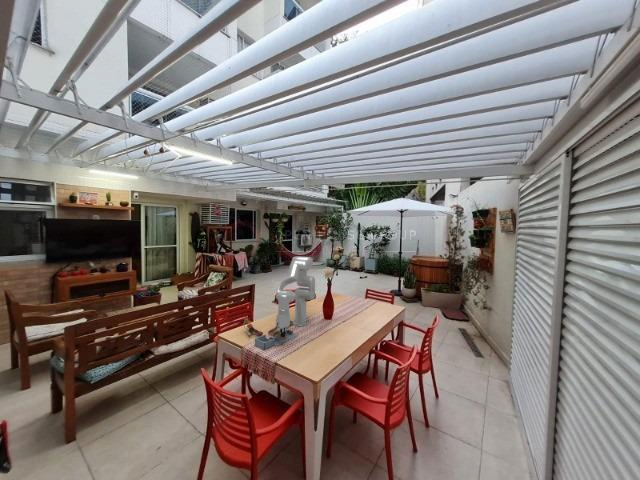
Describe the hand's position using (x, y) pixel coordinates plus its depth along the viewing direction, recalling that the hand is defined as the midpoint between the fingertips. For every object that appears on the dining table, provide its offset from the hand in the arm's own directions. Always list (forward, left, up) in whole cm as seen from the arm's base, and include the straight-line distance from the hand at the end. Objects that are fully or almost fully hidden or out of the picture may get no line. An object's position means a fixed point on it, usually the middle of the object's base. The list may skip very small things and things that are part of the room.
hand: (282, 336), depth 177 cm
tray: (+8, -10, -7) cm, 15 cm away
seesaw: (-8, -6, 0) cm, 10 cm away
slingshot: (+4, -31, -7) cm, 32 cm away
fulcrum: (-8, -9, -7) cm, 14 cm away
